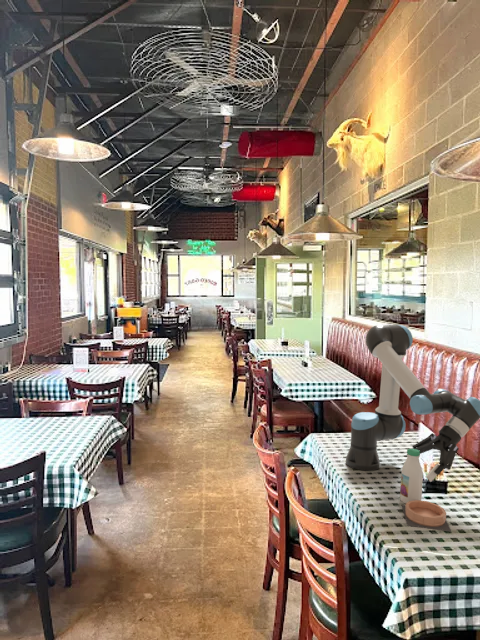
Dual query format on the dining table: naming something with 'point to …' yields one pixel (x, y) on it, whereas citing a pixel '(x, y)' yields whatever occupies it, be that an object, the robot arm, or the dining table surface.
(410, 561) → the dining table surface
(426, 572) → the dining table surface
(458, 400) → the robot arm
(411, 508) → the bowl
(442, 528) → the mat
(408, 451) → the milk bottle
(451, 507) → the dining table surface
